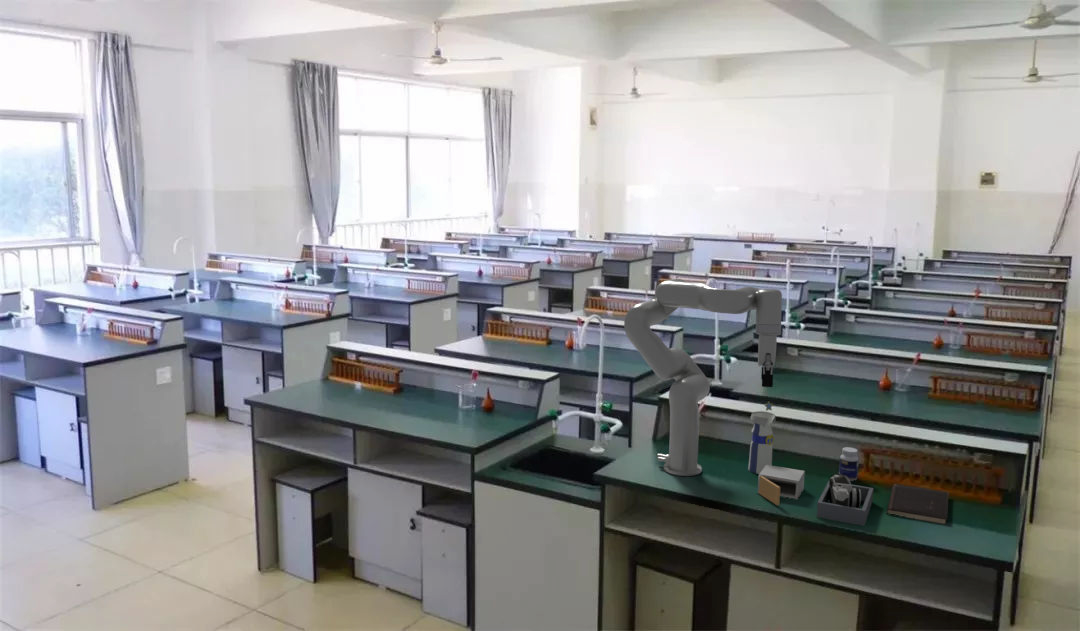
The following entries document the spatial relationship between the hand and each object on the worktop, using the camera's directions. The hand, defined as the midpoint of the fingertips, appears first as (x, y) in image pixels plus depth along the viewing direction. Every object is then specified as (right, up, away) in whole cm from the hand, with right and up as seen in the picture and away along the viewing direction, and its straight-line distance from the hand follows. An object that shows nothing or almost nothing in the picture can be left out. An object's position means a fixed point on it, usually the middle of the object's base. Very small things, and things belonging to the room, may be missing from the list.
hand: (766, 383), depth 263 cm
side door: (-1, -35, -5) cm, 35 cm away
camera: (+20, -37, -12) cm, 44 cm away
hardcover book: (+43, -37, -9) cm, 58 cm away
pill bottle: (+30, -33, +13) cm, 46 cm away
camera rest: (+20, -37, -12) cm, 43 cm away
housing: (+5, -34, +2) cm, 34 cm away
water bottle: (+3, -31, +20) cm, 37 cm away
